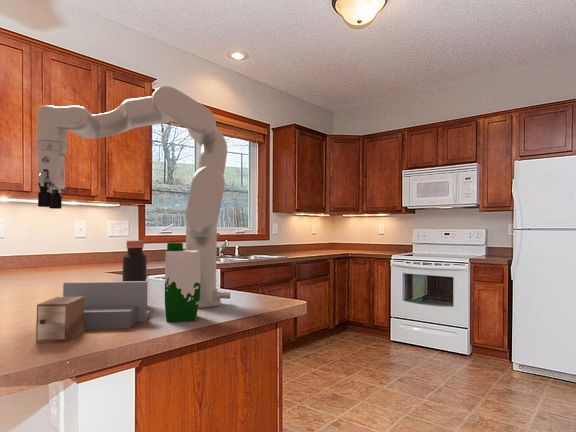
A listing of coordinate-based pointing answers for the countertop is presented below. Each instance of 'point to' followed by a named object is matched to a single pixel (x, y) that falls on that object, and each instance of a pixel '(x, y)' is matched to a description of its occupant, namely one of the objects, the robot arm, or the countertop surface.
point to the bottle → (134, 262)
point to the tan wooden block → (59, 319)
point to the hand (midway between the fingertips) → (50, 207)
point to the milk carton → (181, 283)
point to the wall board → (110, 303)
